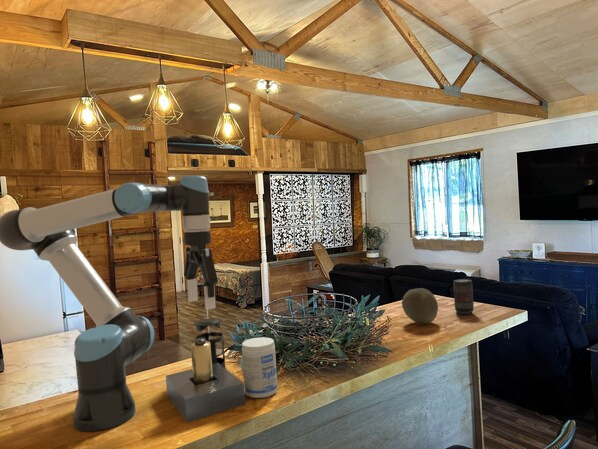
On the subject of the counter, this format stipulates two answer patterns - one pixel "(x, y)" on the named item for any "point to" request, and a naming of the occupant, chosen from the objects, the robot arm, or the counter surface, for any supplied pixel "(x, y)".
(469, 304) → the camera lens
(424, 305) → the cantaloupe
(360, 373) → the counter surface
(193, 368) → the end plug
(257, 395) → the supplement tub
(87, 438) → the counter surface
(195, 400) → the housing
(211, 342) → the french press
